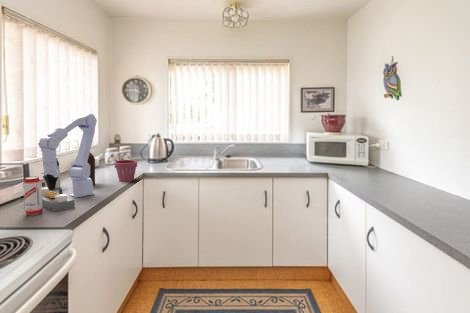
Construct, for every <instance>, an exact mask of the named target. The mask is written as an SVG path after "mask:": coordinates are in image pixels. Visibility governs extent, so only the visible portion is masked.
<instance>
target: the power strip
mask: <svg viewBox="0 0 470 313" xmlns="http://www.w3.org/2000/svg"><path fill="white" fill-rule="evenodd" d="M50 192H54V193H57V194H59V192H55V191H54V190H51V191H50ZM60 195H61V194H60ZM42 206H43V208H46V209H48V210H49V211H52V212H54V213H55V212H59V211H63V210H68V209H72V208H76V207H75V206H76V205H75V199H73V198H71V197H68V196H67V201H63V202H56V201H55V198H50V197H47V195H45V196H44V194H42Z"/></svg>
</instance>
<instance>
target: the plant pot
mask: <svg viewBox="0 0 470 313" xmlns="http://www.w3.org/2000/svg"><path fill="white" fill-rule="evenodd" d="M113 165H114V168H115V169H116V170H115V171H116V173H117V174H116V175H117V177H118V181H119V182H122V183H123V182H124V183H125V182H126V183H128V182H133V181H134V179H135V174H136V169H137V167H138V161H137V160H135V159H121V160H120V159H119V160H115V161H114V164H113Z"/></svg>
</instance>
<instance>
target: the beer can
mask: <svg viewBox="0 0 470 313" xmlns="http://www.w3.org/2000/svg"><path fill="white" fill-rule="evenodd" d="M41 188H42V182H41V179H40V176H36V175H35V176H27V177H24V181H23V195H24V198H23V199H24V208H25V214H26V215H27V216H37V215H40V214H42V212H43V210H44V207H43V206H42V192H41Z"/></svg>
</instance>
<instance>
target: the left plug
mask: <svg viewBox="0 0 470 313" xmlns="http://www.w3.org/2000/svg"><path fill="white" fill-rule="evenodd" d="M41 192H42V194H44V193H48V192H50V190H49V189H48V188H47V187H45V182H44V181H42V182H41Z"/></svg>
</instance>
